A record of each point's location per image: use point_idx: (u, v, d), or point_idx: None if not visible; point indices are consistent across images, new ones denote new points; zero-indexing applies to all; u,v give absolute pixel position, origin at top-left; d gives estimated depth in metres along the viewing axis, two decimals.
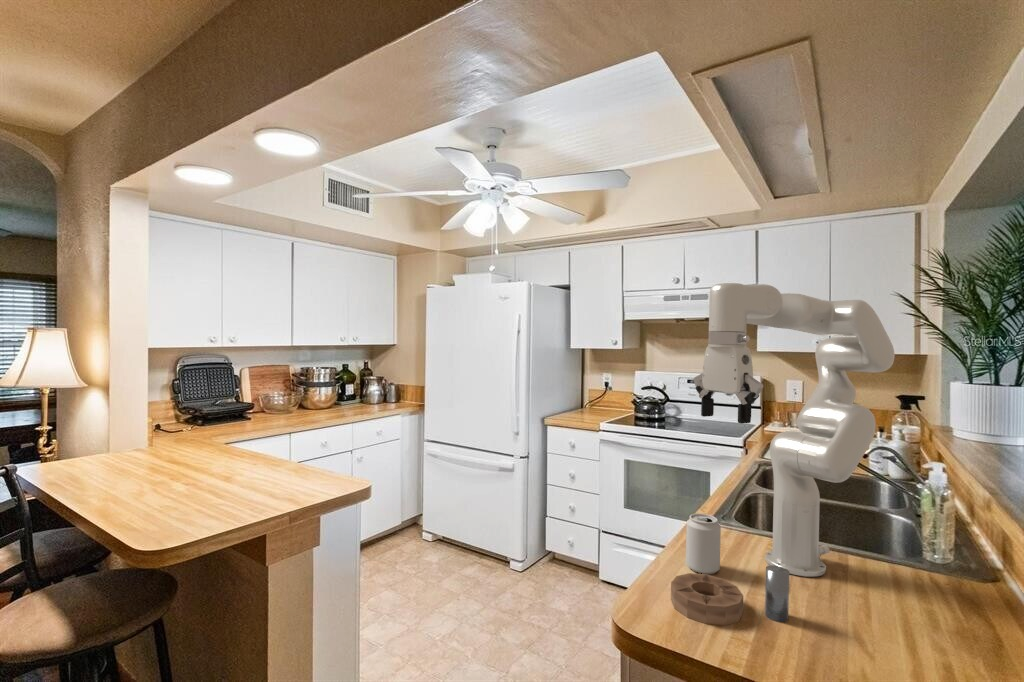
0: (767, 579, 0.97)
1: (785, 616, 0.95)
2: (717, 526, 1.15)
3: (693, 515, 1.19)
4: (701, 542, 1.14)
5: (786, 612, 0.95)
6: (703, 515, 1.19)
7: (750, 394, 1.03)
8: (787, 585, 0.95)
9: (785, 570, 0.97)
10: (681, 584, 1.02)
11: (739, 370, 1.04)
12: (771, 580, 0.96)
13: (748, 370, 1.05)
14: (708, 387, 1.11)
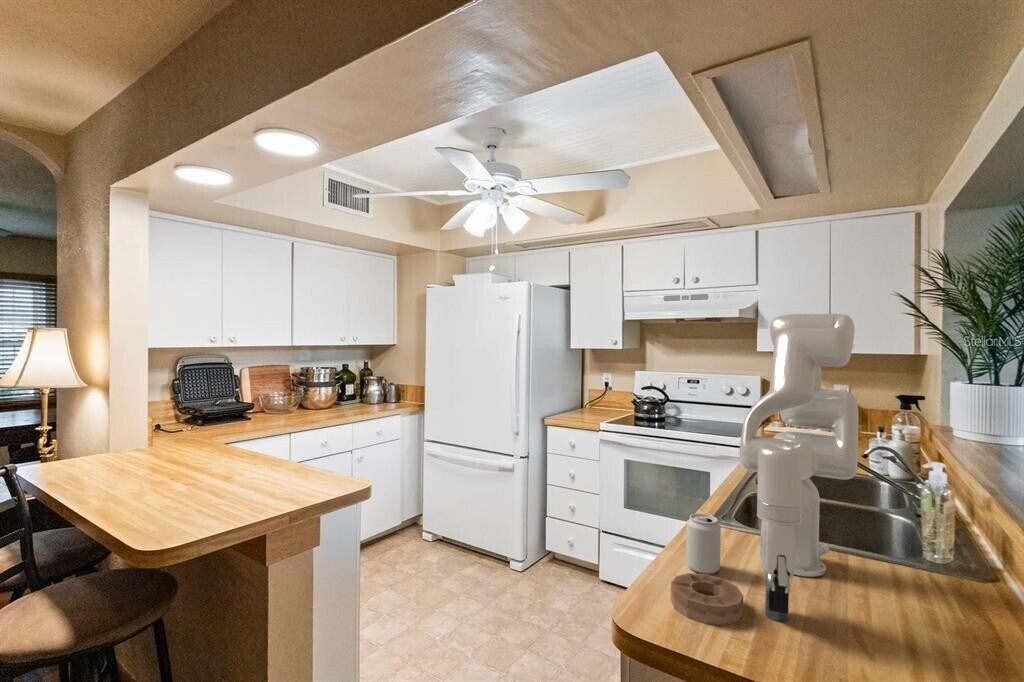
0: (767, 579, 0.97)
1: (785, 616, 0.95)
2: (717, 526, 1.15)
3: (693, 515, 1.19)
4: (701, 542, 1.14)
5: None
6: (703, 515, 1.19)
7: None
8: None
9: None
10: (681, 584, 1.02)
11: None
12: None
13: None
14: None
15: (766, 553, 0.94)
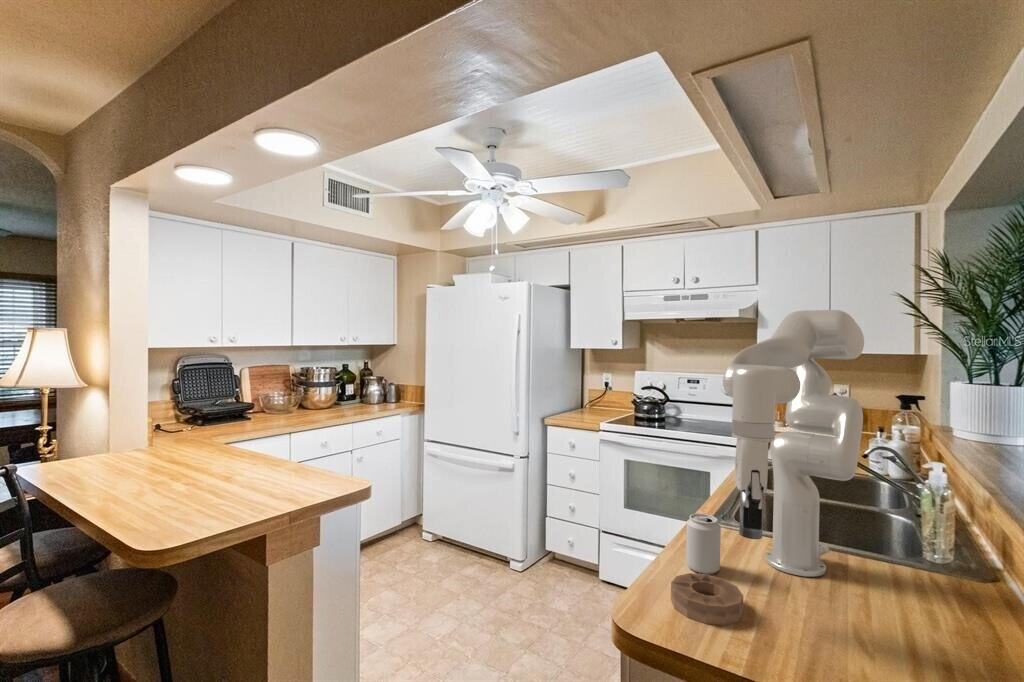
0: (741, 498, 0.98)
1: (759, 533, 0.96)
2: (717, 526, 1.15)
3: (693, 515, 1.19)
4: (701, 542, 1.14)
5: None
6: (703, 515, 1.19)
7: None
8: None
9: None
10: (681, 584, 1.02)
11: None
12: None
13: None
14: None
15: (740, 469, 0.94)
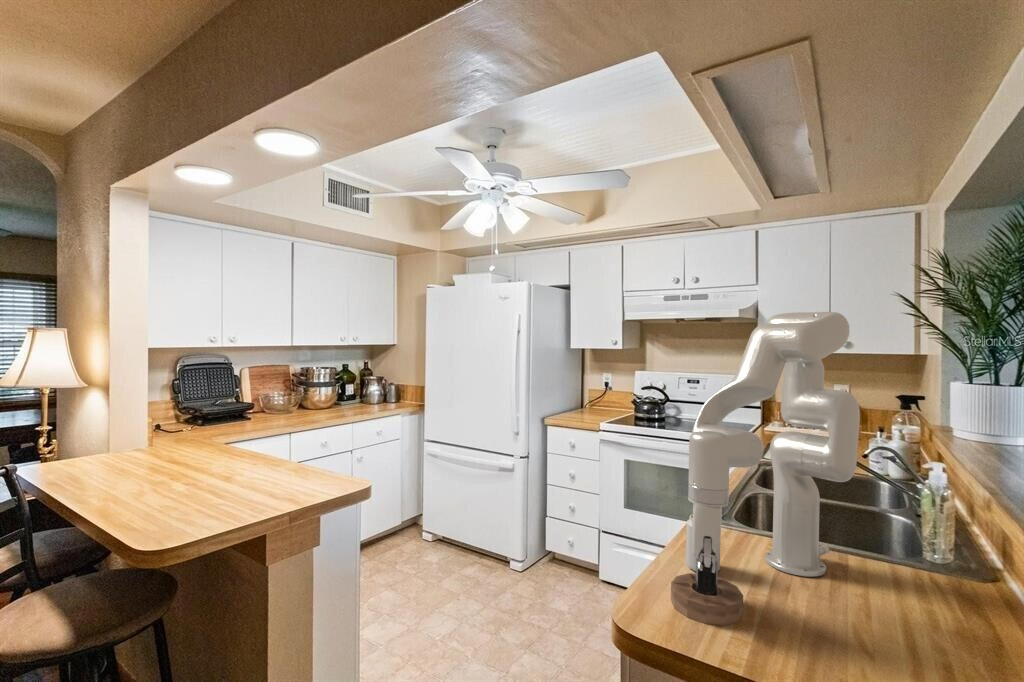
0: (697, 570, 1.00)
1: None
2: None
3: None
4: None
5: None
6: None
7: None
8: None
9: None
10: (681, 584, 1.02)
11: None
12: None
13: None
14: None
15: (693, 534, 0.97)
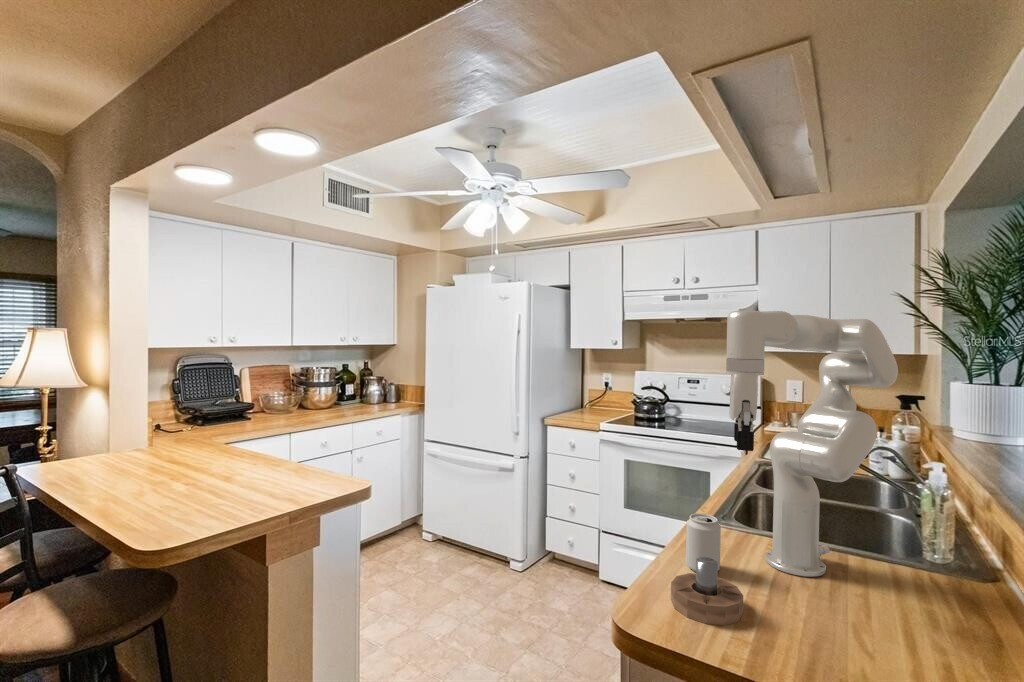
0: (697, 570, 1.00)
1: None
2: (717, 526, 1.15)
3: (693, 515, 1.19)
4: (701, 542, 1.14)
5: None
6: (703, 515, 1.19)
7: None
8: (715, 576, 0.99)
9: (714, 561, 1.00)
10: (681, 584, 1.02)
11: None
12: (700, 571, 0.99)
13: None
14: None
15: (733, 400, 1.06)
